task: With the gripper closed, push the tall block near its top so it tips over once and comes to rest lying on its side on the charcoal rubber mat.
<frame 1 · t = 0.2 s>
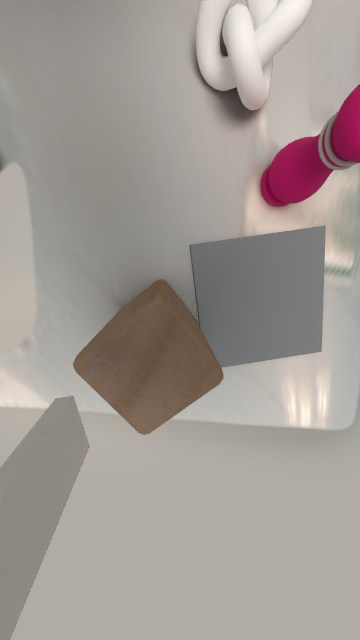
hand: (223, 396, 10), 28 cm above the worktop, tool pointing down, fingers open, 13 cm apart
mat: (259, 302, 38), on the worktop
block: (158, 317, 38), on the worktop
white decorative knot: (241, 67, 30), on the worktop
pepper mill: (279, 184, 34), on the worktop
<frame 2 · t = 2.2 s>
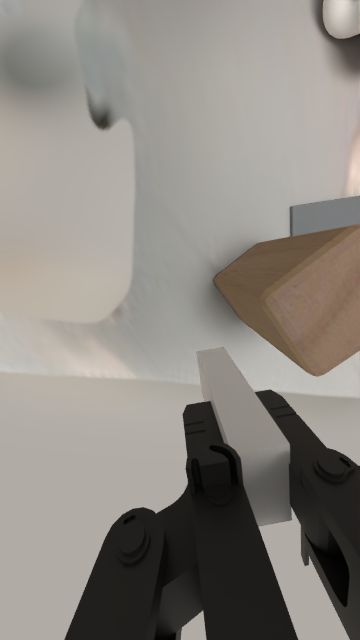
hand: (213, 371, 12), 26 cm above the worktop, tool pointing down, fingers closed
mat: (353, 267, 38), on the worktop
block: (250, 283, 37), on the worktop
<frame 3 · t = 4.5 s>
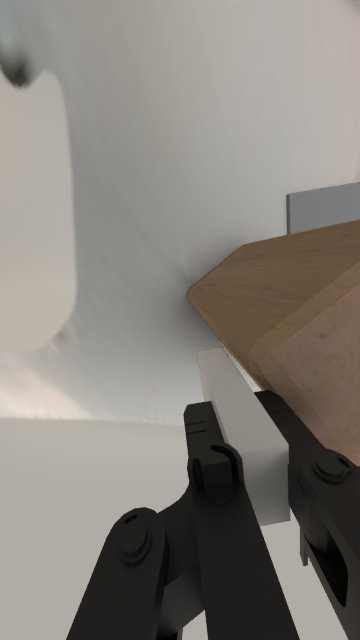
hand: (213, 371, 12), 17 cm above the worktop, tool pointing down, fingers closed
block: (236, 298, 28), on the worktop, touching gripper
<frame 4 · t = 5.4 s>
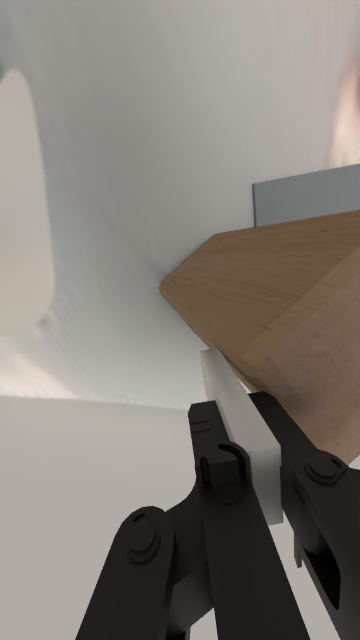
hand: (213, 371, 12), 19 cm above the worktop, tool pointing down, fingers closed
mat: (341, 263, 29), on the worktop
block: (208, 289, 28), point 1 cm above the worktop, touching gripper
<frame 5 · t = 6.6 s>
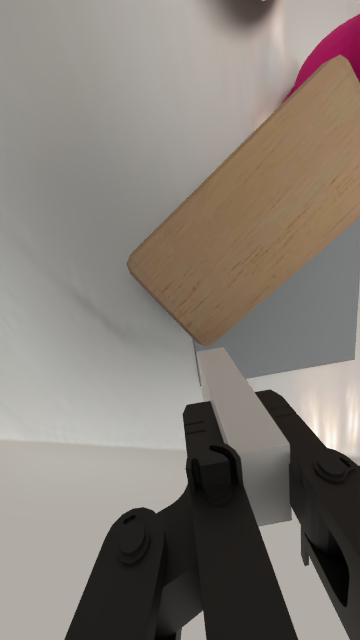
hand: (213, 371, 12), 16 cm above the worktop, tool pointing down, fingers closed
mat: (272, 294, 28), on the worktop
block: (164, 302, 22), point 6 cm above the worktop, touching mat
pepper mill: (304, 122, 24), on the worktop
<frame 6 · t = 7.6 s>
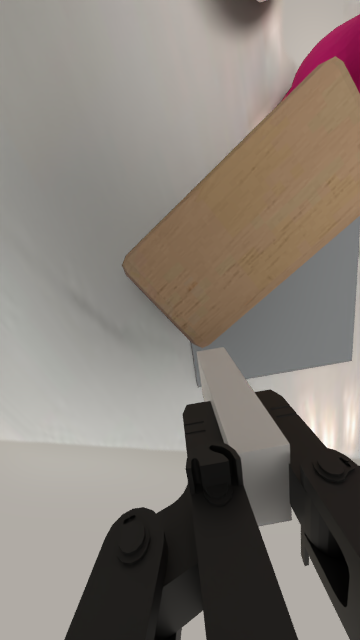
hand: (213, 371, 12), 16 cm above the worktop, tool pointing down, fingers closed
mat: (270, 295, 28), on the worktop
block: (160, 303, 22), point 6 cm above the worktop, touching mat
pepper mill: (301, 123, 24), on the worktop
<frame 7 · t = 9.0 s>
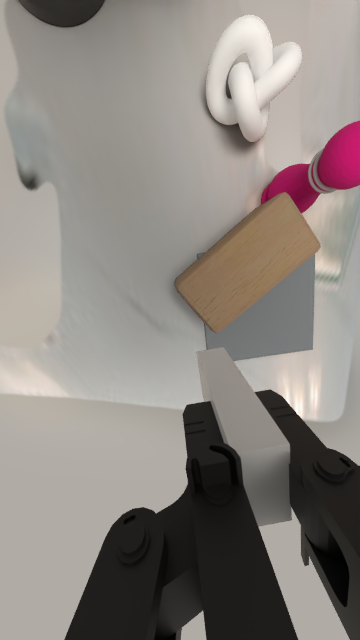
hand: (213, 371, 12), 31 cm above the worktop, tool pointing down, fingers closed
mat: (258, 304, 43), on the worktop
block: (191, 307, 37), point 6 cm above the worktop, touching mat
white decorative knot: (243, 105, 35), on the worktop
pepper mill: (277, 200, 39), on the worktop
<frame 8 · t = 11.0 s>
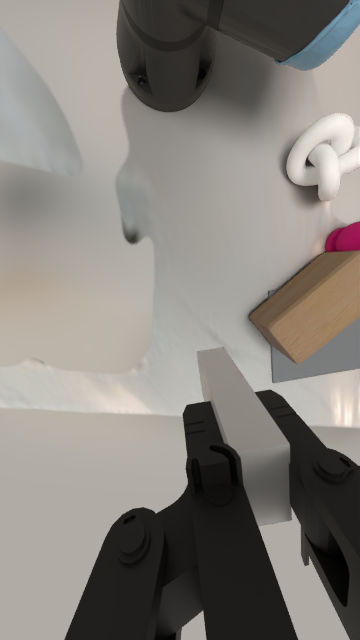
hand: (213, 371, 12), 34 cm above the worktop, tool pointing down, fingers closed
mat: (317, 331, 50), on the worktop
block: (269, 340, 43), point 6 cm above the worktop, touching mat
white decorative knot: (314, 167, 41), on the worktop
pepper mill: (338, 244, 45), on the worktop
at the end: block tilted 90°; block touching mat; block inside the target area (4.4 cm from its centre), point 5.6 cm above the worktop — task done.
